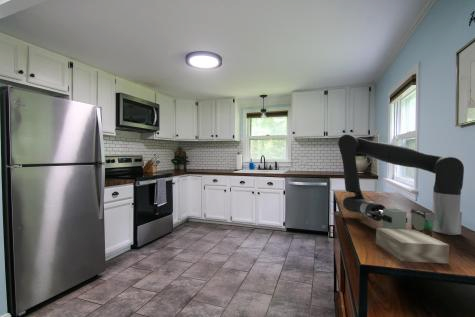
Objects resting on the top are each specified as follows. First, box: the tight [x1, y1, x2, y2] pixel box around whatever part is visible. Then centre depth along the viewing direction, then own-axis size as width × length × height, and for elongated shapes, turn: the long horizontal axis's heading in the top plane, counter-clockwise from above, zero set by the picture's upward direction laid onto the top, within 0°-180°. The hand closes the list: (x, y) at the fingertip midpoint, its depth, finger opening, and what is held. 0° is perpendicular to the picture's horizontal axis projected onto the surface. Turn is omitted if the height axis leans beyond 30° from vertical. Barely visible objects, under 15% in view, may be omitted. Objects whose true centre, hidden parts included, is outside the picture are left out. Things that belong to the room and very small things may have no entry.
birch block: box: [375, 227, 450, 264], centre depth 83 cm, size 14×15×6 cm
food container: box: [410, 208, 437, 238], centre depth 102 cm, size 12×6×10 cm, turn 168°
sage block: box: [382, 208, 408, 230], centre depth 98 cm, size 6×6×10 cm
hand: (398, 220), depth 95 cm, fingers closed on sage block, 5 cm apart
